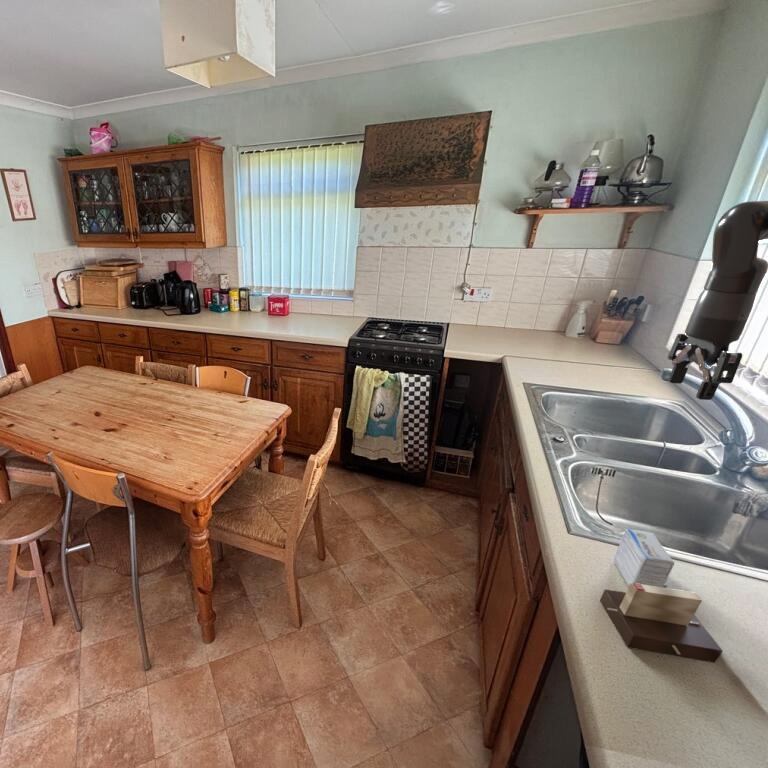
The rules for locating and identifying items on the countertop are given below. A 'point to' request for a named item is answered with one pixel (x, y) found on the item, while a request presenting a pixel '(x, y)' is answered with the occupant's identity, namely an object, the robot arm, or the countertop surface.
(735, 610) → the countertop surface
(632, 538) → the medicine box
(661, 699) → the countertop surface
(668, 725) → the countertop surface
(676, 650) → the dark brown flat slab
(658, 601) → the dial pointer
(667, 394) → the countertop surface
